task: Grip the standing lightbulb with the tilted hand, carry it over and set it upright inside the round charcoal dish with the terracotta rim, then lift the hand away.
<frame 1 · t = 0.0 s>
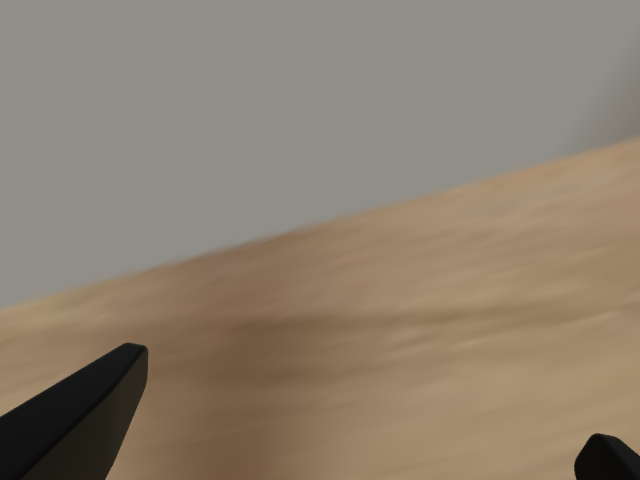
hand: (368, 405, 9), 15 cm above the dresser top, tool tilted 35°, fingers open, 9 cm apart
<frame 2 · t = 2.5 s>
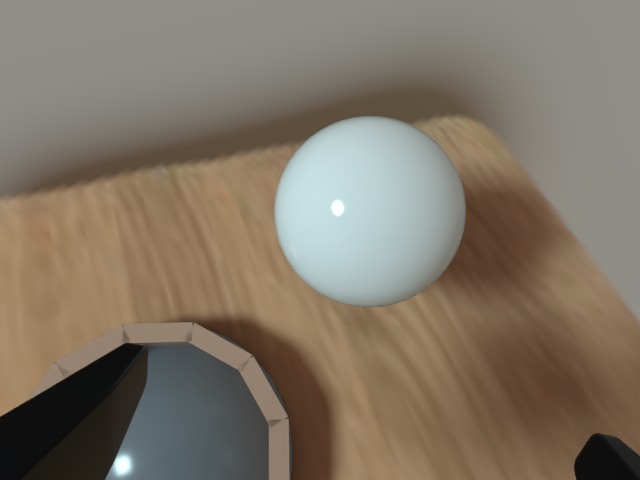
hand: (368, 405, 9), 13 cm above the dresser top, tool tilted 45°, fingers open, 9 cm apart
round dish: (160, 457, 20), on the dresser top
lightbulb: (336, 272, 23), on the dresser top
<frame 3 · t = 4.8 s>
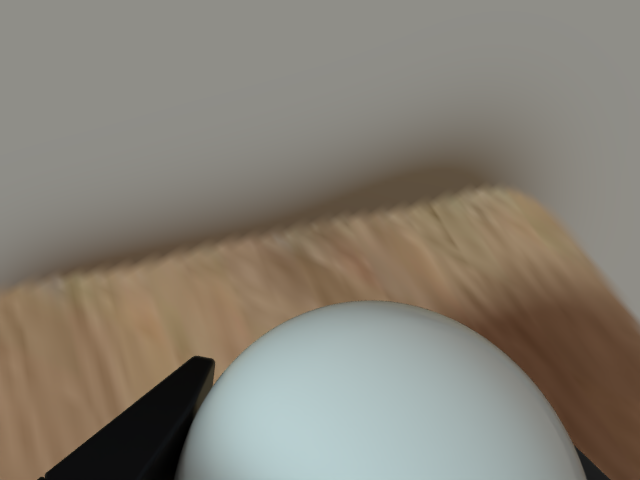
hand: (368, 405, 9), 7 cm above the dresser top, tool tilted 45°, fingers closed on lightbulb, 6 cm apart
lightbulb: (322, 444, 15), on the dresser top, touching gripper
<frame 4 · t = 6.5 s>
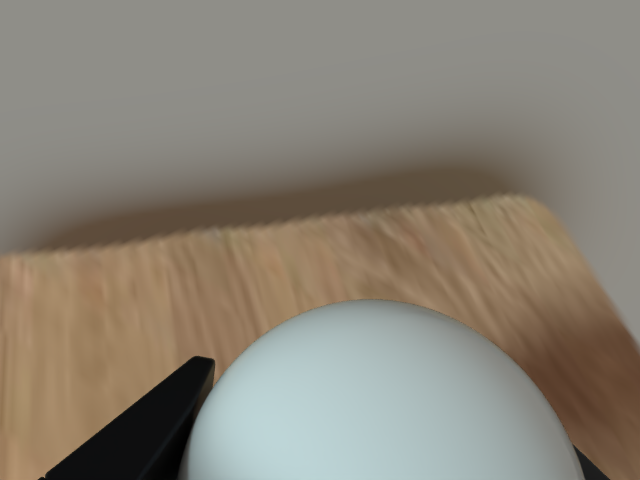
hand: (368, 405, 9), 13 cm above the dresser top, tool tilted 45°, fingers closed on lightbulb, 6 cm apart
lightbulb: (330, 441, 15), point 6 cm above the dresser top, touching gripper
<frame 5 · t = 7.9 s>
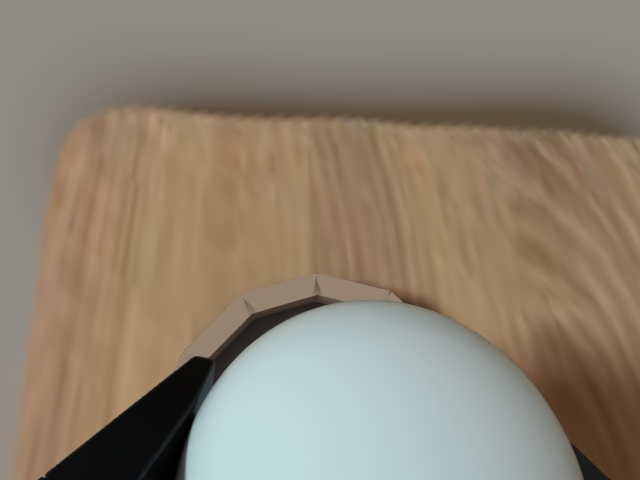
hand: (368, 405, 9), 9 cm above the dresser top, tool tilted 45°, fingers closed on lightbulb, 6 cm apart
round dish: (317, 427, 18), on the dresser top
lightbulb: (330, 442, 15), point 2 cm above the dresser top, touching gripper
when the fingers open (8 cm above the dresser top, at t = 8.6 s): lightbulb drops 1 cm, resting on round dish.
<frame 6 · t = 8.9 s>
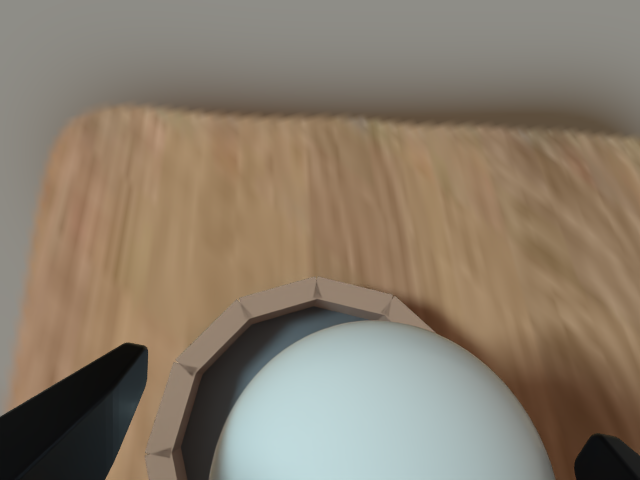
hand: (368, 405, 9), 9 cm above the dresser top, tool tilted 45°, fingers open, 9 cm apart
round dish: (317, 438, 17), on the dresser top
lightbulb: (332, 442, 16), resting on round dish
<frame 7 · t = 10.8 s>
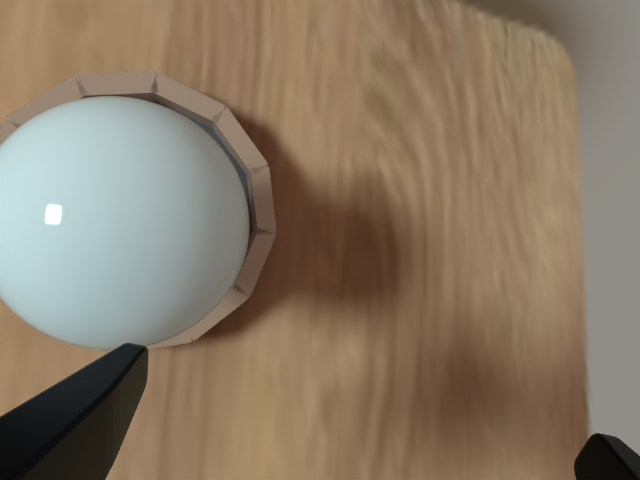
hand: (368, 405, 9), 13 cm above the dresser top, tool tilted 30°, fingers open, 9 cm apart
round dish: (142, 214, 20), on the dresser top
lightbulb: (153, 219, 20), resting on round dish
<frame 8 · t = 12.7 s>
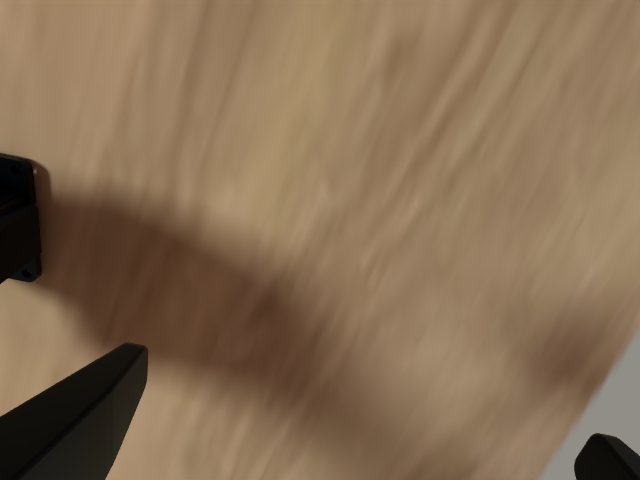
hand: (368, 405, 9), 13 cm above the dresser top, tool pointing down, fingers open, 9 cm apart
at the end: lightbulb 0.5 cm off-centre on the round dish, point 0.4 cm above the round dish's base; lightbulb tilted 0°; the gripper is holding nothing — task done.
